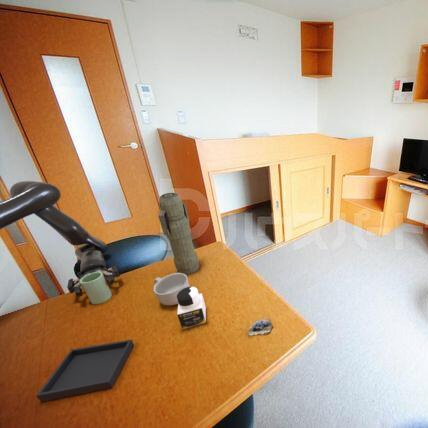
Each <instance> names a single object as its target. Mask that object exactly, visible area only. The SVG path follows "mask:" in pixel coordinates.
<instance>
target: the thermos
mask: <svg viewBox="0 0 428 428" xmlns="http://www.w3.org/2000/svg"><path fill="white" fill-rule="evenodd" d="M158 206H159V209H160V210H158V215H157V216H158V220H159V223H160V226H161V229H162V233H163V235H164V236H166V238H167V240H168V241H169V245H170V248H171V251H172V255H173V263H174V266H175V269H176V270H177V272H176V273H183V274H185V275H186V276H189V275H192V274H195V273H196V272H198V271H199V269H200V263H199V256H198V253H197V251H196V250H195V248H194V242H193V239H192V235H191V234H192V230H191V226H190V218H189V213H188V210H187V206H186V203H185V202H184V201H182V199H181V197H180V196H179V194H178V193H175V192H166V193H163V194H162V195H160V196H159V199H158Z"/></svg>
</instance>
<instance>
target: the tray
mask: <svg viewBox="0 0 428 428" xmlns="http://www.w3.org/2000/svg"><path fill="white" fill-rule="evenodd" d="M134 346H135V343H134V341H133V340H132V339H127V340H125V339H124V340H119V341H114V342H108V343H102V344H96V345H90V346H83V347H78V348H71V349H70V350H69V352H68V353H67V354H66V355H65V357H64V359H62V361H61V362H60V363H59V365H58V367H57V368H56V369H55V370H54V372H53V373H52V374H51V375H50V377H49V378H48V379H47V381H45V383H44V385H43V386H42V387H41V389H40V390H39V391H38V393H37V394H36V395H35V396H36V398H37V399H38V400H39V401H40V402H47V401H53V400H58V399H62V398H67V397H73V396H79V395H83V394H87V393H92V392H97V391H102V390H107V389H112V388H113V387H114V385H115V383H116V382H117V379H118V377H119V375H120V373H121V372H122V370H123V368H124V366H125V364H126V362H127V360H128V358H129V356H130V354H131V352H132V351H133V348H134Z"/></svg>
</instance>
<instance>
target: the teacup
mask: <svg viewBox="0 0 428 428" xmlns="http://www.w3.org/2000/svg"><path fill="white" fill-rule="evenodd" d="M153 282H154V286H153V293H154V294H155V296H156V298H157V299H158V302H159V303H161V304H162V305H165V306H175V305H178V304H179V303H178V300H177V294H178V293H179V291H180V290H182V289H184V288H186V287H191V286H190V282H189V278H188V275H185V274H183V273H178V272H173V273H170V274H167V275H165V276H164V277H159V276H158V277H155V278H154V280H153Z"/></svg>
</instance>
